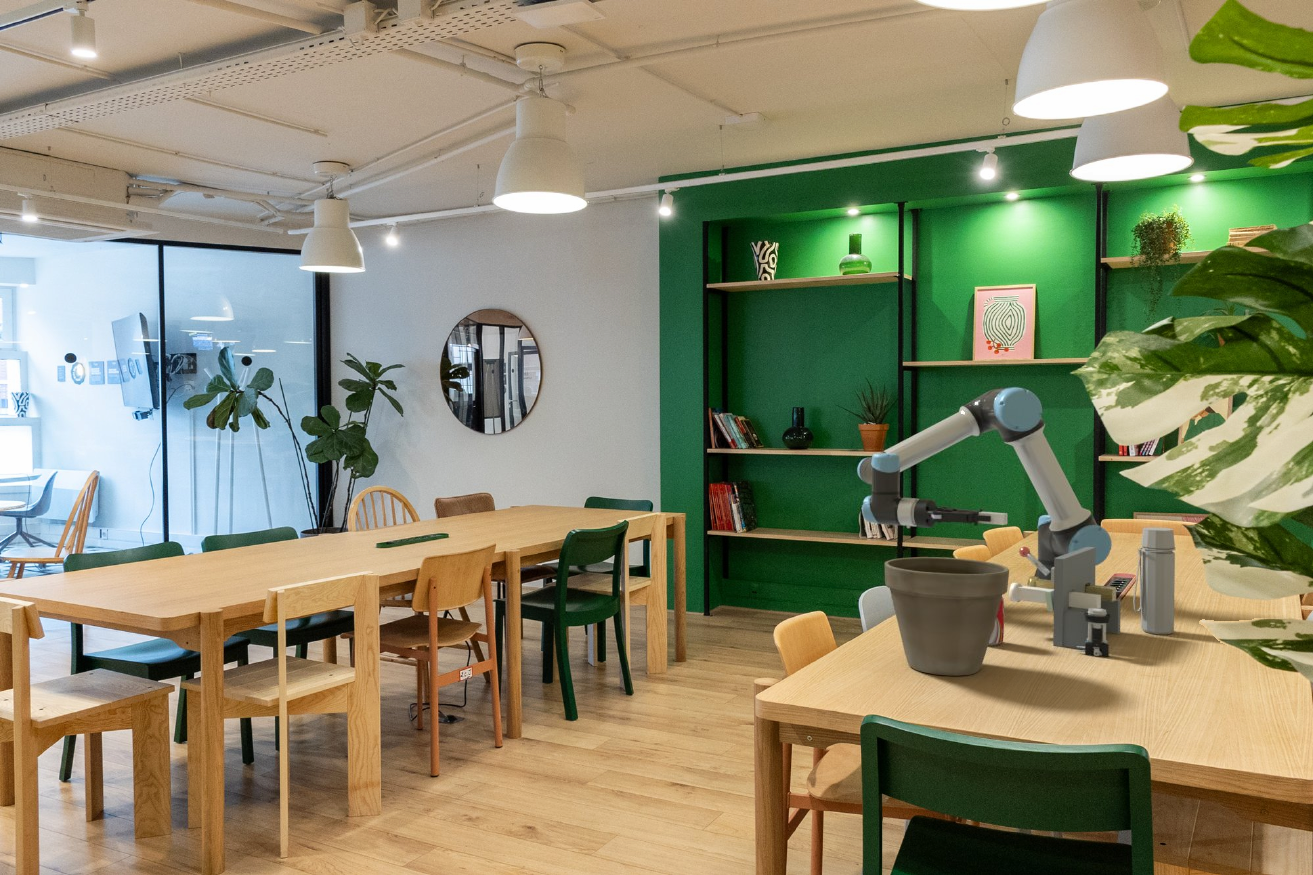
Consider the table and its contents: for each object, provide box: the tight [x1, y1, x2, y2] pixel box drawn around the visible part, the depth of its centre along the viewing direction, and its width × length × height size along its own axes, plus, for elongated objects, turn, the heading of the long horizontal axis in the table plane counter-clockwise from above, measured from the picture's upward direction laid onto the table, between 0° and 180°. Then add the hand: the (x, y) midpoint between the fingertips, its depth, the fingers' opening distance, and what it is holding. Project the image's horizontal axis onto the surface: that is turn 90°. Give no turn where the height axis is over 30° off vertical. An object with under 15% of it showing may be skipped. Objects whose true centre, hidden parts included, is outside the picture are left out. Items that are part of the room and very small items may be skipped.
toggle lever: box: [1018, 546, 1050, 576], centre depth 227 cm, size 2×7×6 cm, turn 50°
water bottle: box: [1132, 526, 1176, 636], centre depth 236 cm, size 9×8×25 cm
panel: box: [1051, 547, 1122, 651], centre depth 230 cm, size 24×9×20 cm, turn 140°
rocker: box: [1045, 590, 1054, 612], centre depth 225 cm, size 3×1×4 cm, turn 140°
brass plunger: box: [1026, 575, 1117, 602], centre depth 238 cm, size 4×20×4 cm, turn 50°
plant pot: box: [884, 556, 1010, 677], centre depth 204 cm, size 25×25×22 cm
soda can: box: [988, 596, 1005, 647], centre depth 225 cm, size 7×7×12 cm
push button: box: [1076, 608, 1111, 658], centre depth 215 cm, size 7×5×10 cm
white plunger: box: [1008, 582, 1101, 609], centre depth 228 cm, size 4×20×4 cm, turn 50°
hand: (1005, 519), depth 248 cm, fingers closed
